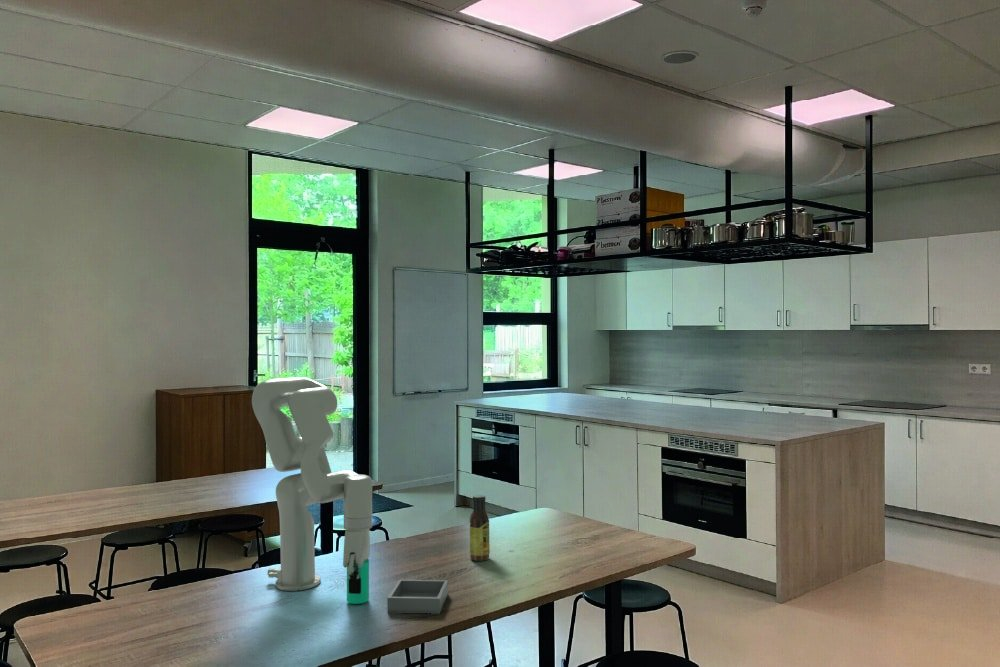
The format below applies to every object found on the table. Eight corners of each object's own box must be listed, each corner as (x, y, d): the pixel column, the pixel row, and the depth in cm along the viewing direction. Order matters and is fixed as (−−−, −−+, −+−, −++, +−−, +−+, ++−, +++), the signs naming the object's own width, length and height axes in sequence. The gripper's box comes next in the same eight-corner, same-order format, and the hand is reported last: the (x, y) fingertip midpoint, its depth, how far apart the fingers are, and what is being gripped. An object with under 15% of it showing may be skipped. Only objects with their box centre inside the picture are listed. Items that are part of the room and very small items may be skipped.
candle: (358, 605, 193) (358, 560, 192) (341, 600, 196) (341, 556, 196) (373, 598, 198) (373, 554, 197) (357, 593, 201) (357, 550, 201)
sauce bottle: (487, 562, 228) (486, 498, 228) (467, 561, 230) (466, 498, 230) (491, 556, 235) (490, 494, 235) (472, 555, 236) (471, 493, 236)
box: (387, 613, 189) (387, 597, 189) (399, 594, 202) (399, 579, 202) (439, 614, 188) (439, 598, 188) (448, 594, 201) (447, 580, 201)
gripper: (353, 513, 205) (353, 577, 205) (334, 530, 188) (334, 600, 189) (379, 513, 204) (379, 578, 205) (363, 531, 187) (362, 602, 188)
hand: (357, 588), depth 197 cm, fingers closed on candle, 4 cm apart
